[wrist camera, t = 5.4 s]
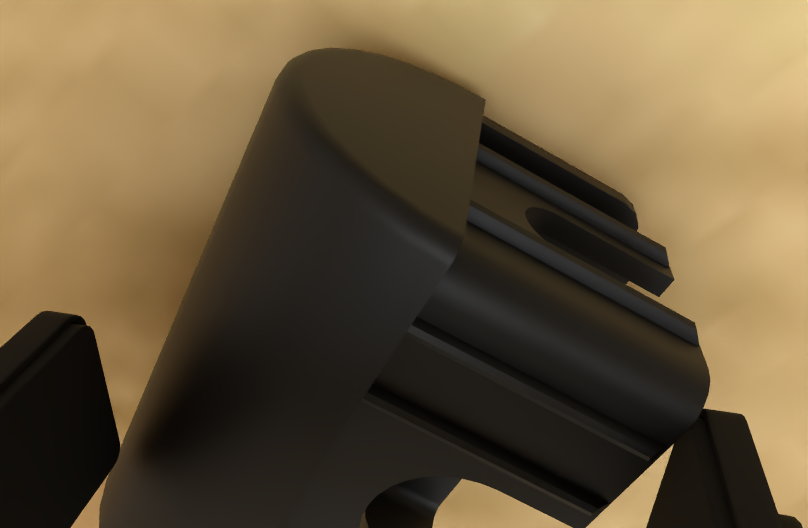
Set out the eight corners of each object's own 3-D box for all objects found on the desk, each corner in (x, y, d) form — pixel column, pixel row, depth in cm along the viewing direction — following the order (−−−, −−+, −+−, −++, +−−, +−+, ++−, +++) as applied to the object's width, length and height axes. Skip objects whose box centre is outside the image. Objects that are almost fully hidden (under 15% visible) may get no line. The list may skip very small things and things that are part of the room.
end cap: (347, 6, 13) (210, 111, 7) (660, 185, 14) (760, 408, 8) (186, 361, 18) (27, 594, 12) (425, 479, 19) (383, 750, 13)
